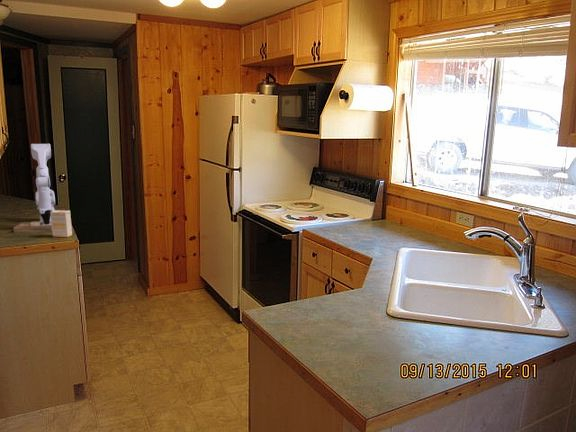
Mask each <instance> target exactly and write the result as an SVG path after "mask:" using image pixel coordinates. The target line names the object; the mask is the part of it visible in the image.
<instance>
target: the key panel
mask: <svg viewBox="0 0 576 432" xmlns="http://www.w3.org/2000/svg"><path fill="white" fill-rule="evenodd" d="M31 222H32V221H28V222H27V221H26V222H25V221H24V222H22V221H21V222H20V223H18V224H17V225H15V226H14V227H13V233H14V234H15V233H16V234H17V233H43V232H45V233H46V232H47V233H48V231H50V232H52V224H51V225H43V224H44V222H41V225H38V226H30V225H29V226H19V225H21V224H30V223H31ZM50 223H51V222H50Z"/></svg>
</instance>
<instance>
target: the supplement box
mask: <svg viewBox="0 0 576 432" xmlns="http://www.w3.org/2000/svg"><path fill="white" fill-rule="evenodd" d="M50 214H51V224H52V231H51V232H52V237H53V238H69V237H72V236H73V227H72V226H73V225H72V218H71V215H72V214H71V210H63V209H61V210H59V209H55V210H54V211H52V212H50Z"/></svg>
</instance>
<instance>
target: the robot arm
mask: <svg viewBox="0 0 576 432" xmlns="http://www.w3.org/2000/svg"><path fill="white" fill-rule="evenodd" d="M30 154H31V156H32V159H33V160H35V161H37V164H38V165H37V167H36V178H35V184H36V188H37V189H36V192H35V204H36V209H37V210H38V212H39V221H41V222H44V224H49V223H50V222H51V214H50V212H52V211H54V210H56V209H55V207H54V206H55V205H56V197H55V196H56V195H55V191H54V190H52V189H50V187H51V179H50V178H51V177H50V174H49V168H48V166H47V162H48V160H49V159H51V157H52V149H51V144H50V143H31V144H30Z"/></svg>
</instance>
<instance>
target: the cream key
mask: <svg viewBox="0 0 576 432" xmlns="http://www.w3.org/2000/svg"><path fill="white" fill-rule="evenodd" d="M30 222H31V223H30V226H38V225H41V221H40V220H39V221H30Z"/></svg>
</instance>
